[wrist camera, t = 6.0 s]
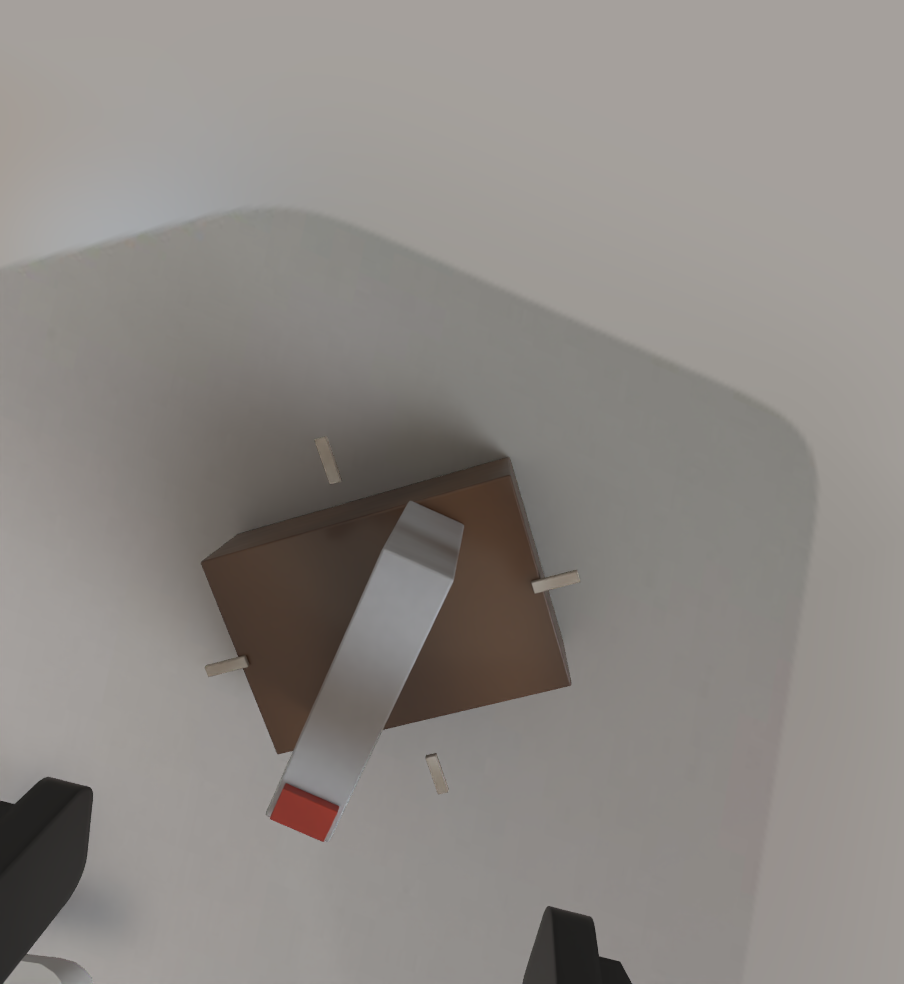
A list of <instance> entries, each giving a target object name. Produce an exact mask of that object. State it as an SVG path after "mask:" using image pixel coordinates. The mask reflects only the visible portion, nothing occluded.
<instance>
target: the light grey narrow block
mask: <svg viewBox="0 0 904 984" xmlns="http://www.w3.org/2000/svg"><path fill="white" fill-rule="evenodd" d="M463 530H464V525H463V524H462V523H459V522H457V521H455V520H453V519H450V518H448V517H446V516H444V515H442V514H439V513H437V512H435V511H433V510H430V509H428V508H426V507H424V506H422V505H419V504H417V503H415V502H413V501H409V502H408V504H407V505H406V507H405V509H404V511H403V513H402V515H401V516H400V518H399V520H398V522H397V524H396V525H395V527H394V529H393V531H392V533H391V534H390V536H389V538H388V540H387V542H386V543H385V545H384V547H383V549H382V551H381V553H380V555H379V558H378V560H377V562H376V564H375V567H374V569H373V571H372V573H371V576H370V578H369V580H368V583H367V585H366V587H365V589H364V592H363V594H362V596H361V598H360V601H359V603H358V605H357V607H356V610H355V612H354V614H353V617H352V619H351V621H350V623H349V626H348V628H347V630H346V632H345V635H344V637H343V639H342V641H341V644H340V646H339V648H338V651H337V653H336V655H335V657H334V660H333V662H332V664H331V666H330V669H329V671H328V673H327V675H326V678H325V680H324V682H323V685H322V687H321V689H320V691H319V694H318V696H317V698H316V700H315V703H314V705H313V707H312V709H311V712H310V714H309V716H308V719H307V721H306V723H305V725H304V728H303V730H302V732H301V734H300V737H299V739H298V741H297V743H296V746H295V748H294V750H293V752H292V755H291V757H290V759H289V762H288V764H287V766H286V768H285V771H284V773H283V775H282V777H281V780H280V782H279V784H278V786H277V789H276V791H275V793H274V796H273V798H272V800H271V802H270V805H269V807H268V809H267V811H266V815H267V816H268V817H270V819H271V820H273V821H276V822H278V823H280V824H283V825H285V826H287V827H290V828H292V829H294V830H297V831H299V832H301V833H303V834H306V835H308V836H310V837H313V838H315V839H317V840H320V841H322V842H324V841H326V842H328V841H329V840H330V839H331V837H332V835H333V833H334V831H335V829H336V827H337V824H338V822H339V820H340V818H341V816H342V814H343V812H344V810H345V808H346V806H347V804H348V801H349V799H350V797H351V795H352V793H353V791H354V789H355V787H356V785H357V783H358V780H359V778H360V776H361V774H362V772H363V770H364V768H365V766H366V764H367V762H368V759H369V757H370V755H371V753H372V751H373V749H374V747H375V745H376V743H377V741H378V739H379V736H380V734H381V732H382V730H383V728H384V726H385V724H386V722H387V720H388V718H389V715H390V713H391V711H392V709H393V707H394V705H395V703H396V701H397V699H398V697H399V695H400V692H401V690H402V688H403V686H404V684H405V682H406V680H407V678H408V676H409V674H410V671H411V669H412V667H413V665H414V663H415V661H416V659H417V657H418V655H419V653H420V651H421V648H422V646H423V644H424V642H425V640H426V638H427V636H428V634H429V632H430V630H431V627H432V625H433V623H434V621H435V619H436V617H437V615H438V613H439V611H440V609H441V607H442V604H443V602H444V600H445V598H446V596H447V594H448V592H449V590H450V588H451V586H452V583H453V581H454V576H455V571H456V566H457V561H458V556H459V550H460V545H461V540H462V535H463Z"/></svg>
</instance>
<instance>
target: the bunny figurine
mask: <svg viewBox="0 0 904 984" xmlns="http://www.w3.org/2000/svg"><path fill="white" fill-rule="evenodd" d="M3 984H93V982H92V977H91V976H90V975H89V974H88V972H87V971H86V970H85V969H84V968H82V967H81V966H80V965H78V964H77V963H76V962H73V961H69V960H65V959H62V958H56V957H47V956H38V955H30V954H26V955H25V956H24V957H23V959H22V960H21V961H20V963H19V964H18V965H17V966H16V968H15V969H14V970H13V972H12V973H11V974H10V975H9V977H8V978H7V979H6V981H5V982H4V983H3Z"/></svg>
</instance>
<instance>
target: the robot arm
mask: <svg viewBox="0 0 904 984" xmlns="http://www.w3.org/2000/svg"><path fill="white" fill-rule="evenodd" d="M92 802H93V791H92V789H91V788H90V787H87V786H83V785H79V784H75V783H71V782H67V781H63V780H59V779H55V778H51V777H46V778H43V779H42V780H40V781H39V782H38V783H37V784H36V785H35V786H33V787H32V788H31V789H30V790H29V791H28V792H27V793H26V794H25V795H24V796H23V797H22V798H21V799H20V800H19V801H18V802H17V803H16V804H11V803H7V802H3V801H0V984H3V983H4V982H5V981H6V979H7V978H8V977H9V975H10V974H11V973H12V972H13V970H14V969H15V968H16V966H17V965H18V964H19V963H20V961H21V960H22V959H23V957H24V956H25V955H26V954H27V952H28V951H29V950H30V948H31V947H32V946H33V945H34V943H35V942H36V941H37V940H38V938H39V937H40V936H41V934H42V933H43V932H44V931H45V929H46V928H47V927H48V925H49V924H50V923H51V922H52V920H53V919H54V918H55V916H56V915H57V914H58V913H59V911H60V910H61V909H62V907H63V906H64V905H65V904H66V902H67V901H68V900H69V898H70V897H71V895H72V894H73V892H74V890H75V888H76V887H77V885H78V883H79V880H80V878H81V876H82V873H83V871H84V867H85V864H86V859H87V851H88V841H89V832H90V822H91V812H92ZM523 984H632V983H631V981H630V979H629V977H628V975H627V974H626V972H625V970H624V968H623V966H622V964H621V963H620V962H619V961H615V960H611V959H607V958H603V957H599V954H598V947H597V940H596V933H595V926H594V922H593V919H592V918H591V917H590V916H586V915H582V914H578V913H574V912H570V911H566V910H562V909H558V908H554V907H550V906H548V907H547V908H546V909H545V912H544V914H543V917H542V921H541V924H540V927H539V930H538V933H537V936H536V940H535V943H534V946H533V949H532V952H531V955H530V959H529V962H528V965H527V968H526V971H525V975H524V979H523Z"/></svg>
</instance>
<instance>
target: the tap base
mask: <svg viewBox="0 0 904 984" xmlns="http://www.w3.org/2000/svg"><path fill="white" fill-rule="evenodd" d="M314 441H315V444H316V446H317V449H318V452H319V455H320V458H321V461H322V464H323V466H324V469H325V472H326V475H327V478H328V481H329V484H330V485H331V484H335V483H338V482H341V481H342V478H341V476H340V473H339V470H338V467H337V464H336V461H335V458H334V455H333V452H332V450H331V447H330V444H329V441H328V438H327V436H324V437H321V438H317V439H315V440H314ZM409 501H413V502H415V503H417V504H419V505H422V506H424V507H426V508H428V509H430V510H433V511H435V512H437V513H439V514H442V515H444V516H446V517H448V518H450V519H453V520H455V521H457V522H459V523H462V524H463V525H464V530H463V535H462V540H461V545H460V550H459V556H458V561H457V566H456V571H455V576H454V581H453V583H452V586H451V588H450V590H449V592H448V594H447V596H446V598H445V600H444V602H443V604H442V607H441V609H440V611H439V613H438V615H437V617H436V619H435V621H434V623H433V625H432V627H431V630H430V632H429V634H428V636H427V638H426V640H425V642H424V644H423V646H422V648H421V651H420V653H419V655H418V657H417V659H416V661H415V663H414V665H413V667H412V669H411V671H410V674H409V676H408V678H407V680H406V682H405V684H404V686H403V688H402V690H401V692H400V695H399V697H398V699H397V701H396V703H395V705H394V707H393V709H392V711H391V713H390V715H389V718H388V720H387V722H386V724H385V726H384V728H383V730H384V729H388V728H392V727H396V726H401V725H405V724H409V723H413V722H418V721H422V720H426V719H430V718H435V717H439V716H443V715H447V714H452V713H456V712H460V711H465V710H469V709H473V708H477V707H482V706H486V705H490V704H494V703H499V702H503V701H507V700H511V699H516V698H520V697H524V696H528V695H533V694H537V693H541V692H546V691H550V690H554V689H558V688H563V687H567V686H570V685H571V678H570V673H569V668H568V663H567V658H566V653H565V648H564V643H563V639H562V636H561V632H560V629H559V626H558V622H557V619H556V615H555V612H554V608H553V605H552V601H551V598H550V594H549V591H548V590H551V589H555V588H559V587H563V586H567V585H570V584H574V583H578V582H580V579H579V575H578V571H577V570H573V571H569V572H565V573H561V574H558V575H554V576H550V577H546V578H545V577H544V574H543V570H542V567H541V563H540V560H539V556H538V553H537V550H536V546H535V543H534V539H533V536H532V532H531V529H530V525H529V522H528V519H527V515H526V512H525V508H524V505H523V501H522V498H521V494H520V491H519V487H518V484H517V481H516V477H515V474H514V470H513V467H512V463H511V460H510V458H509V457H506V458H502V459H499V460H495V461H492V462H488V463H485V464H481V465H478V466H474V467H471V468H467V469H464V470H460V471H457V472H453V473H450V474H446V475H443V476H439V477H436V478H432V479H429V480H425V481H422V482H418V483H415V484H411V485H408V486H404V487H401V488H397V489H394V490H390V491H387V492H383V493H380V494H376V495H373V496H369V497H366V498H362V499H359V500H355V501H352V502H348V503H345V504H341V505H338V506H334V507H331V508H327V509H324V510H320V511H317V512H313V513H310V514H306V515H303V516H299V517H296V518H292V519H289V520H285V521H282V522H278V523H275V524H271V525H268V526H264V527H261V528H257V529H254V530H250V531H247V532H243V533H240V534H237V535H236V536H234V537H233V538H232V539H230V540H229V541H228V542H226V543H225V544H224V545H223V546H221V547H220V548H219V549H217V550H216V551H215V552H213V553H212V554H211V555H209V556H208V557H207V558H205V559H204V560H203V561H202V562H201V565H202V567H203V570H204V572H205V575H206V577H207V580H208V582H209V585H210V587H211V590H212V592H213V595H214V597H215V600H216V602H217V605H218V607H219V610H220V612H221V615H222V617H223V620H224V622H225V625H226V627H227V630H228V632H229V635H230V637H231V640H232V642H233V645H234V647H235V650H236V652H237V655H238V657H236V658H232V659H228V660H224V661H221V662H217V663H213V664H209V665H206V666H205V670H206V672H207V675H208V677H210V676H214V675H218V674H222V673H226V672H230V671H234V670H238V669H242V668H243V670H244V672H245V675H246V677H247V680H248V682H249V685H250V687H251V690H252V692H253V695H254V697H255V700H256V702H257V704H258V707H259V709H260V712H261V714H262V717H263V719H264V722H265V724H266V727H267V729H268V732H269V734H270V737H271V739H272V742H273V744H274V747H275V749H276V752H277V754H281V753H285V752H290V751H293V750H294V748H295V746H296V743H297V741H298V739H299V737H300V734H301V732H302V730H303V728H304V725H305V723H306V721H307V719H308V716H309V714H310V712H311V709H312V707H313V705H314V703H315V700H316V698H317V696H318V694H319V691H320V689H321V687H322V685H323V682H324V680H325V678H326V675H327V673H328V671H329V669H330V666H331V664H332V662H333V660H334V657H335V655H336V653H337V651H338V648H339V646H340V644H341V641H342V639H343V637H344V635H345V632H346V630H347V628H348V626H349V623H350V621H351V619H352V617H353V614H354V612H355V610H356V607H357V605H358V603H359V601H360V598H361V596H362V594H363V592H364V589H365V587H366V585H367V583H368V580H369V578H370V576H371V573H372V571H373V569H374V567H375V564H376V562H377V560H378V558H379V555H380V553H381V551H382V549H383V547H384V545H385V543H386V542H387V540H388V538H389V536H390V534H391V533H392V531H393V529H394V527H395V525H396V524H397V522H398V520H399V518H400V516H401V515H402V513H403V511H404V509H405V507H406V505H407V504H408V502H409ZM426 761H427V764H428V767H429V770H430V772H431V775H432V778H433V781H434V784H435V787H436V790H437V792H438V794H443V793H447V792H448V791H449V788H448V785H447V783H446V780H445V777H444V774H443V771H442V768H441V765H440V762H439V759H438V757H437V754H436V753H434V754H430V755H426Z"/></svg>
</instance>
